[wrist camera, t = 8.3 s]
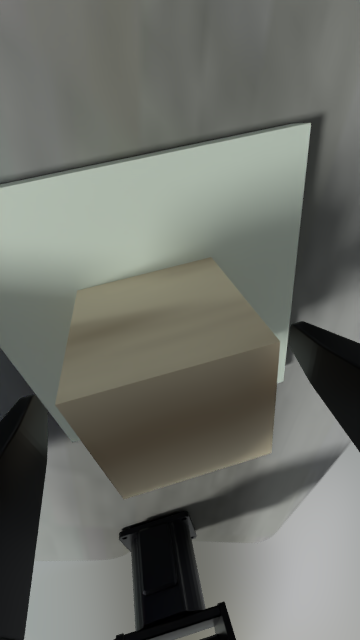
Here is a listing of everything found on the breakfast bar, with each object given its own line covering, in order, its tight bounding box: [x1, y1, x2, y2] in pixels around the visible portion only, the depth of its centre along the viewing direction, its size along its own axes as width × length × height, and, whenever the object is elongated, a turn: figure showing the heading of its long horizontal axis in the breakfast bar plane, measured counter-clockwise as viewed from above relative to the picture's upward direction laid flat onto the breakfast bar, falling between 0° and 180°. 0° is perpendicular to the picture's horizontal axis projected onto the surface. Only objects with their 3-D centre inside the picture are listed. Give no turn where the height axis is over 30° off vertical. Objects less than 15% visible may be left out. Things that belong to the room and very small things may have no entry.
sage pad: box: [0, 123, 311, 443], centre depth 12 cm, size 12×12×1 cm
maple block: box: [55, 257, 280, 499], centre depth 9 cm, size 5×5×5 cm
